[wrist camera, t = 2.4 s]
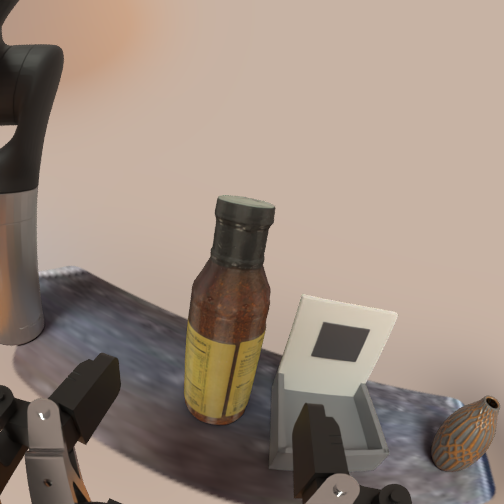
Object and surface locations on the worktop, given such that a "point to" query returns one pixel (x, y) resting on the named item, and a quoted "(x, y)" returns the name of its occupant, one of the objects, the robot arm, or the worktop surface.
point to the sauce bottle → (228, 313)
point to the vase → (465, 435)
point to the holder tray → (331, 378)
